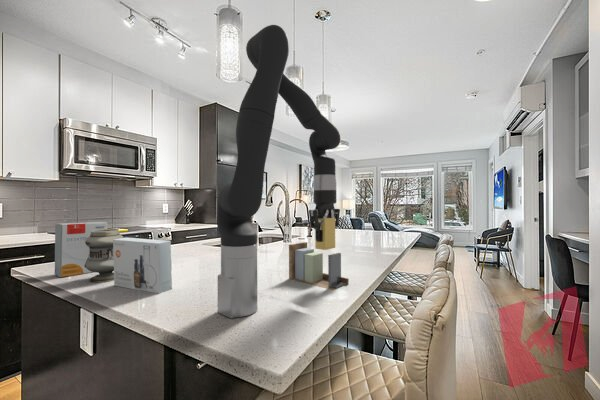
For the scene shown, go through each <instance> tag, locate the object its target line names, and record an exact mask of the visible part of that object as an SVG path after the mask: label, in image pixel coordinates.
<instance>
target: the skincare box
mask: <svg viewBox="0 0 600 400" xmlns="http://www.w3.org/2000/svg"><path fill="white" fill-rule="evenodd" d="M171 245H172V240H164V239H163V240H162V239H152V238H151V239H149V238H139V237H138V238H136V237H124V238H120V239H114V240H113V254H114V271H113V273H114V280H113V284H114V286H115V287H120V288H127V289H132V290H135V291H137V290H138V291H143V292H148V293H155V294H163V293H165V292H167V291H171V290H173V278H172V277H173V276H172V275H173V274H172V270H173V268H172V246H171ZM162 292H163V293H162Z"/></svg>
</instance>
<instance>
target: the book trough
mask: <svg viewBox="0 0 600 400" xmlns="http://www.w3.org/2000/svg"><path fill="white" fill-rule="evenodd" d="M302 248H308V242H306V241H304V242H298V243H292V244H289V245H288V279H290V280H293V281H296V282H300V283H305V284H309V285H313V286H315V287H316V286H317V287H319V288H324V289H327V290H330V291H335V290H338V289H341V288H343V287H345V286H347V285H349V283H350V282H349V280H350V279H349V278H348V277H344V276H341V282H344V283H346V285H344V286H341V287H339V288H336V289H335V288H331V287H328V273H325V272H323V280H320V281H317V282H314V283H311V282H307V281H305V280H304V281H303V280H299V279H295V250H297V249H302Z"/></svg>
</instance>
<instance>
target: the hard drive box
mask: <svg viewBox="0 0 600 400" xmlns="http://www.w3.org/2000/svg"><path fill="white" fill-rule="evenodd" d="M101 229H108V222H106V221H105V222H104V221H87V222H86V221H85V222H83V221H81V222H64V223H60V222H59V223H55V225H54V275H55V276H57V277H58V278H63V277H64V278H65V277H73V276H77V275H82V274H89V273H93V272H92V271H89V270H88V269H87V268H86V266H85V264H86V262H87V261H88V260H89V257H90V252H89V246H87V245H86V244H85V241H86V239H87V238H88V237H90V234H91V231H93V230H101Z"/></svg>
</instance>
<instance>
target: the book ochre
mask: <svg viewBox="0 0 600 400" xmlns="http://www.w3.org/2000/svg"><path fill="white" fill-rule="evenodd" d="M322 219H323V218H318V220H322ZM335 223H336V219H335V218H324V223H323V229H322V230H323V241H322V242H317V241H316V230H315V229H314V231H315V234H314V235H315V249H316V250H322V251H323V250H324V251H327V250H331V249H332V250H333V249H336V227H335ZM319 226H320V223H319ZM315 249H314V250H315Z"/></svg>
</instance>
